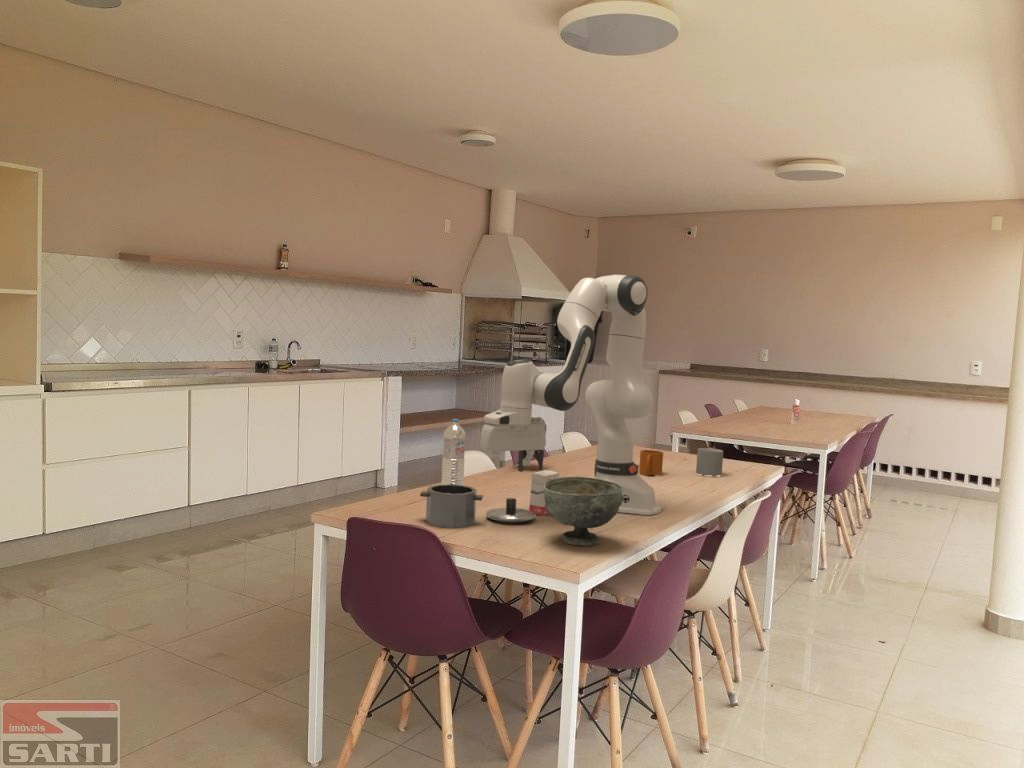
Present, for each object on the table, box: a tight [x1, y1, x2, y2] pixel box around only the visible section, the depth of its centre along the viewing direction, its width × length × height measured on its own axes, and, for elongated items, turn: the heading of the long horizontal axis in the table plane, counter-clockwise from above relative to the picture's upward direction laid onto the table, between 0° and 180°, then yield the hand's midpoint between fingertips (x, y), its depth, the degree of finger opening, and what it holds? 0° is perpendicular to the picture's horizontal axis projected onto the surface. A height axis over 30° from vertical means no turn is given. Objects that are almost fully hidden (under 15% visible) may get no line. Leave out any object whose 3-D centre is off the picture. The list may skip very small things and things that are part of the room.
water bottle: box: [440, 418, 467, 486], centre depth 243 cm, size 7×7×25 cm
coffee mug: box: [695, 447, 724, 476], centre depth 314 cm, size 13×10×10 cm
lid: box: [485, 497, 537, 524], centre depth 222 cm, size 14×14×6 cm
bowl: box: [544, 476, 623, 547], centre depth 201 cm, size 20×19×15 cm
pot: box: [419, 484, 484, 529], centre depth 215 cm, size 17×13×9 cm
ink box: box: [528, 469, 560, 516], centre depth 232 cm, size 9×5×12 cm, turn 148°
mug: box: [638, 449, 664, 477], centre depth 307 cm, size 9×12×9 cm
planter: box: [517, 423, 547, 472], centre depth 305 cm, size 13×13×18 cm
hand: (512, 466), depth 221 cm, fingers open, 8 cm apart
